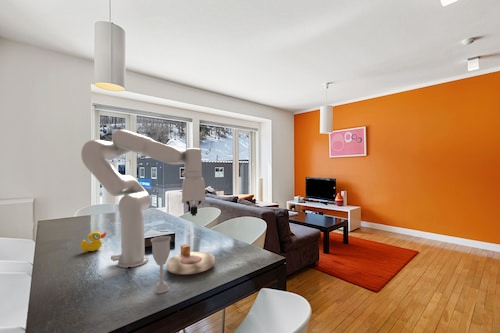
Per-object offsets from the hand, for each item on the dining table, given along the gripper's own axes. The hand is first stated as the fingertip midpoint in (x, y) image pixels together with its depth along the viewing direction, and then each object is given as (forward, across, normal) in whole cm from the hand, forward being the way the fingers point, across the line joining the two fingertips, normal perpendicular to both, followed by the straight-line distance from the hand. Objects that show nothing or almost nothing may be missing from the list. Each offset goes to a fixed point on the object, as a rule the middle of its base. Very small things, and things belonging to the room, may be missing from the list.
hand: (193, 215), depth 110 cm
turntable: (+19, -2, -7) cm, 21 cm away
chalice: (+21, -13, -22) cm, 33 cm away
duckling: (+22, -49, +33) cm, 63 cm away
